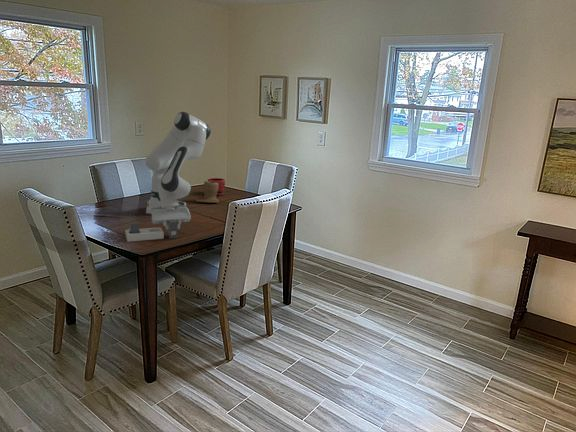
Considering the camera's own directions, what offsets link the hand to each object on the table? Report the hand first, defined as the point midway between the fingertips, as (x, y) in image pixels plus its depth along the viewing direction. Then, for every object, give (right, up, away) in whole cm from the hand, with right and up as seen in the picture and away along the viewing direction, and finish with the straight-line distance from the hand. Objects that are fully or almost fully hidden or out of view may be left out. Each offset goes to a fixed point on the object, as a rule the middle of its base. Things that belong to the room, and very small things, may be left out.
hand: (173, 229), depth 229 cm
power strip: (-17, -3, +3) cm, 18 cm away
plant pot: (+6, +23, +101) cm, 104 cm away
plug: (-1, -5, +2) cm, 5 cm away
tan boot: (+4, +17, +78) cm, 80 cm away
